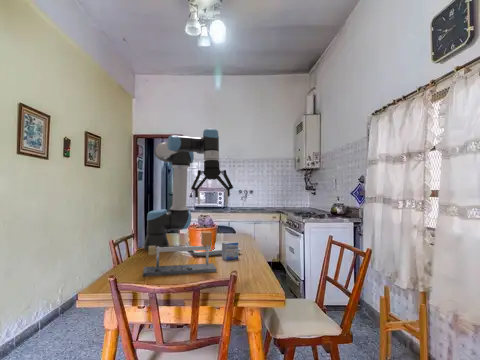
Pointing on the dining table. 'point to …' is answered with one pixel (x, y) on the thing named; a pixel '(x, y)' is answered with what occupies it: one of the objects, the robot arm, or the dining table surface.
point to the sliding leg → (206, 243)
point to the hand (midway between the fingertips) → (212, 204)
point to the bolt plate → (179, 269)
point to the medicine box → (230, 250)
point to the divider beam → (156, 250)
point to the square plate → (214, 252)
